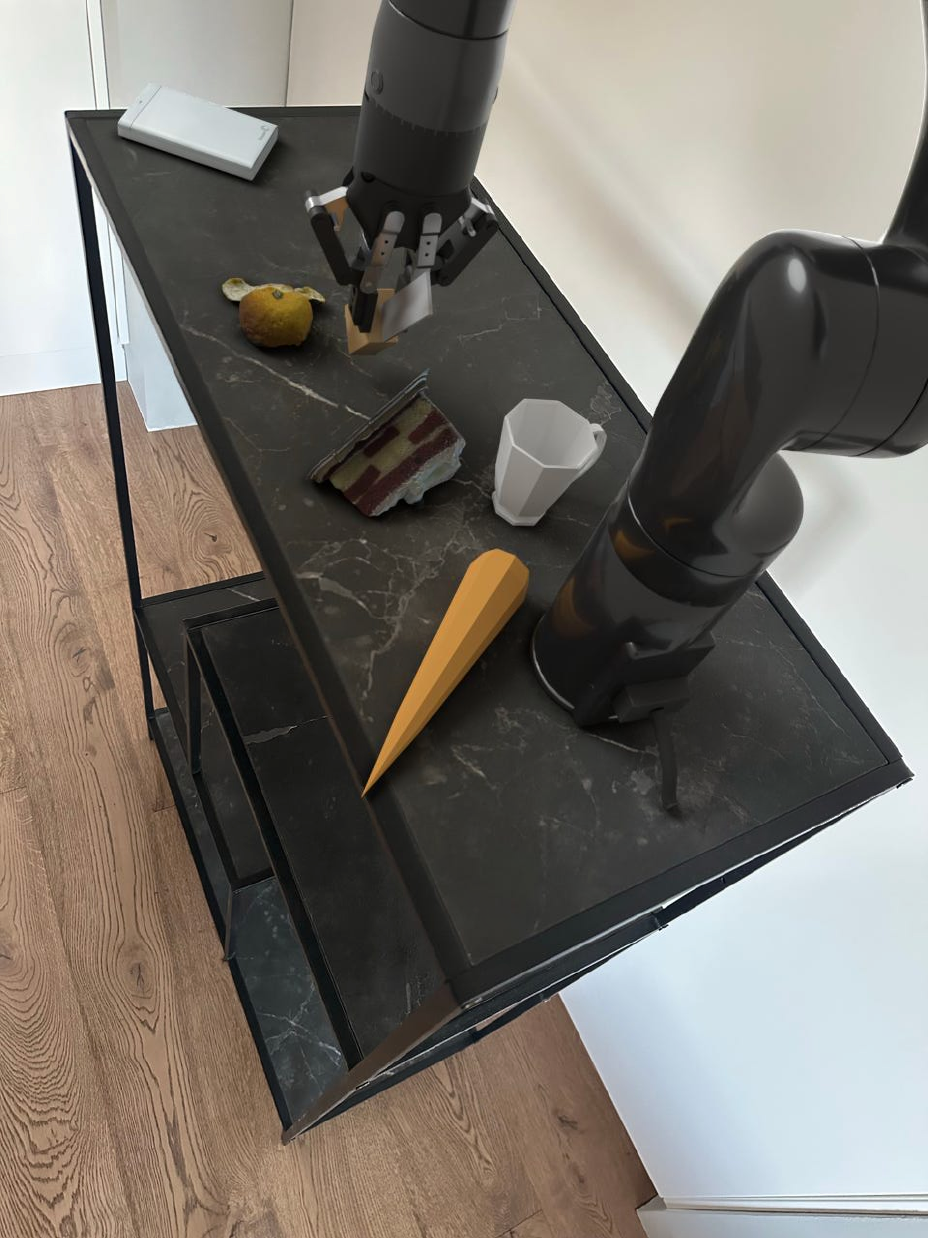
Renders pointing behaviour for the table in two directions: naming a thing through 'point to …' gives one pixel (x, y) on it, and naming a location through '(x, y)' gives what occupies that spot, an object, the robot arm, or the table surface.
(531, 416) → the cup
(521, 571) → the carrot
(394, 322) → the knife
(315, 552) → the table surface
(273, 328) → the fruit
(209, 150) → the hard drive
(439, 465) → the chocolate cake
